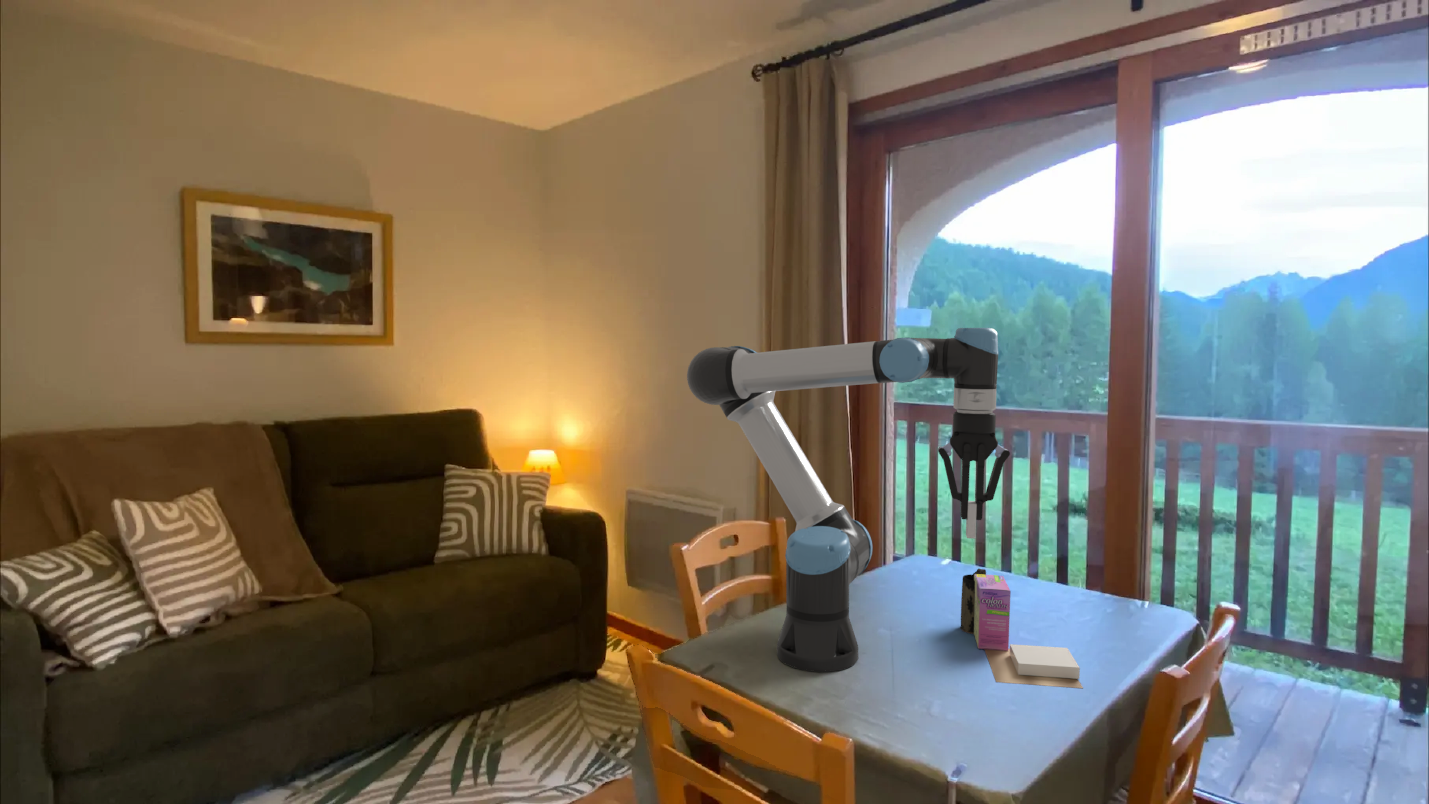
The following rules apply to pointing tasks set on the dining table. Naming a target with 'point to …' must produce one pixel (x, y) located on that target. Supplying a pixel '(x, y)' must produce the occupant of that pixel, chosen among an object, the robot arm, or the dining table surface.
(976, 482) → the robot arm
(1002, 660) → the mat
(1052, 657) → the tile
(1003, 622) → the box
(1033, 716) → the dining table surface
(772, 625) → the dining table surface
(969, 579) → the mug
